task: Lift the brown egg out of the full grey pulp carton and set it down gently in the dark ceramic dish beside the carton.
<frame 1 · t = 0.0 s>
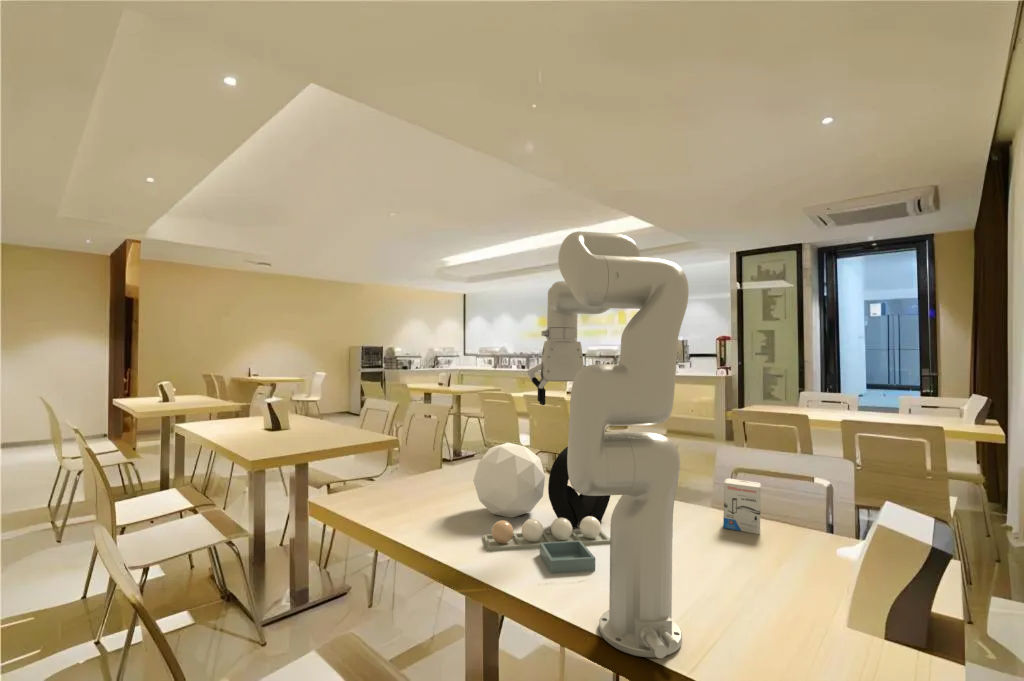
hand: (561, 404, 122), 31 cm above the table, fingers open, 9 cm apart
ink box: (741, 529, 125), on the table
white egg a: (561, 539, 114), resting on carton
brown egg: (502, 543, 112), resting on carton
dish: (566, 564, 102), on the table
carton: (546, 542, 114), on the table
polyhedron: (509, 514, 133), on the table
headphones: (580, 524, 127), on the table
white egg c: (590, 538, 116), resting on carton
white egg b: (532, 541, 113), resting on carton
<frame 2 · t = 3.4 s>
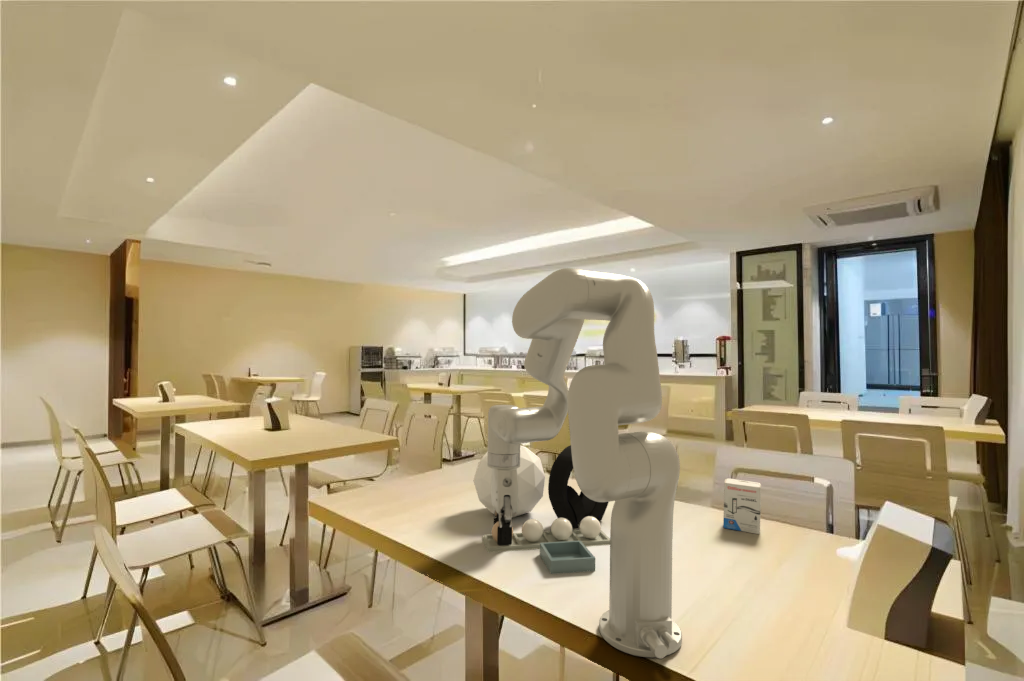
hand: (502, 538, 112), 1 cm above the table, fingers closed on brown egg, 4 cm apart
brown egg: (502, 543, 112), resting on carton, touching gripper
everything else where it was.
when the fingers open (3 cm above the table, at t = 8.7 s): brown egg drops 1 cm, resting on dish.
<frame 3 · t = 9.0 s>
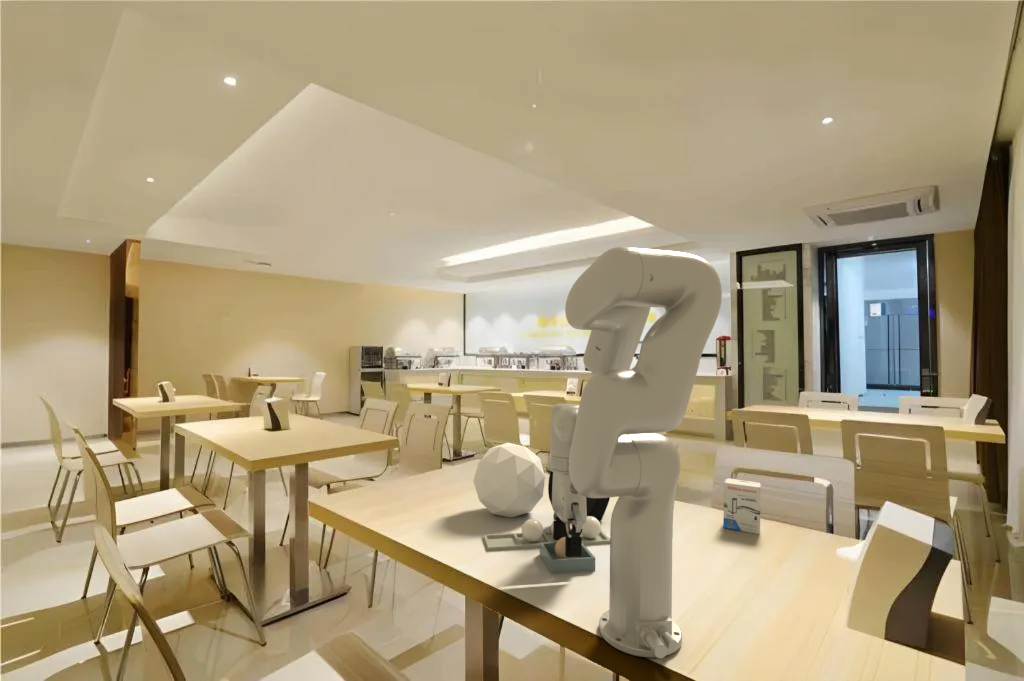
hand: (566, 547, 102), 4 cm above the table, fingers open, 8 cm apart
brown egg: (566, 561, 102), point 1 cm above the table, touching dish
everything else where it was.
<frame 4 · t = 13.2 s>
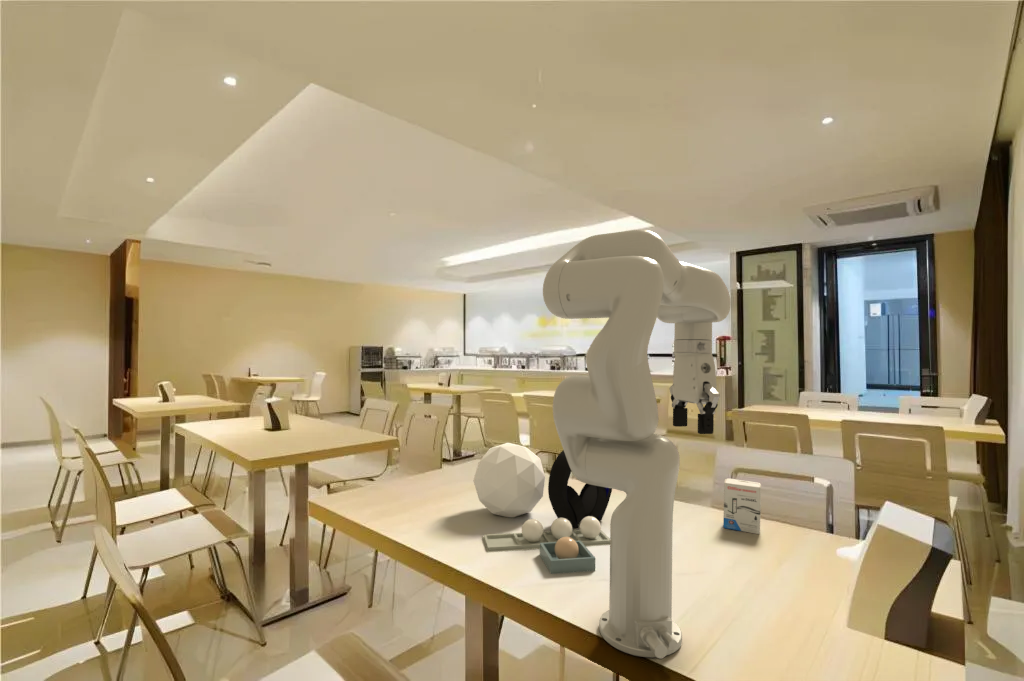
hand: (692, 429, 104), 28 cm above the table, fingers open, 9 cm apart
nothing on the table moved.
at the end: brown egg inside the target area on the dish (0.0 cm from its centre), point 0.6 cm above the dish's base; the gripper is holding nothing; white egg b moved 0.0 cm from its start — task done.
